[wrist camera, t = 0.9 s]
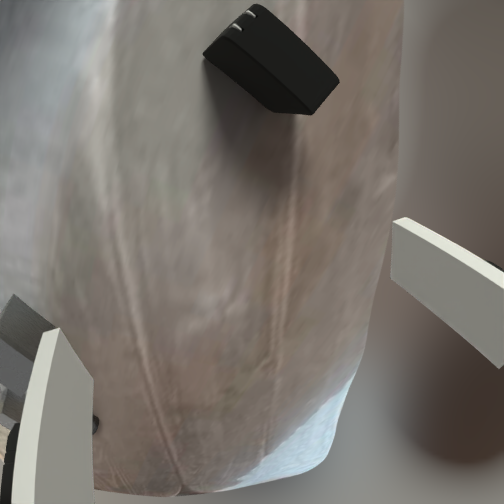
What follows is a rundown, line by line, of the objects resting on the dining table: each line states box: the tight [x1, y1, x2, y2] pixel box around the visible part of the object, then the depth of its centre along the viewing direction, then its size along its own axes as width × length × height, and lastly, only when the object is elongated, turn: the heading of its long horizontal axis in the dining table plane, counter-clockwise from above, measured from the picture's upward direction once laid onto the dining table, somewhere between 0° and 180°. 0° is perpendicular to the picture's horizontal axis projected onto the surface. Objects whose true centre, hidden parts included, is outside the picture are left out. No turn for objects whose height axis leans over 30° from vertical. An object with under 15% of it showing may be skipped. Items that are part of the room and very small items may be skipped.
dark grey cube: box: [0, 294, 55, 397], centre depth 30 cm, size 7×7×8 cm
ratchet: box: [0, 384, 99, 435], centre depth 35 cm, size 19×9×10 cm, turn 40°
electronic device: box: [203, 4, 340, 115], centre depth 26 cm, size 4×10×10 cm, turn 52°
